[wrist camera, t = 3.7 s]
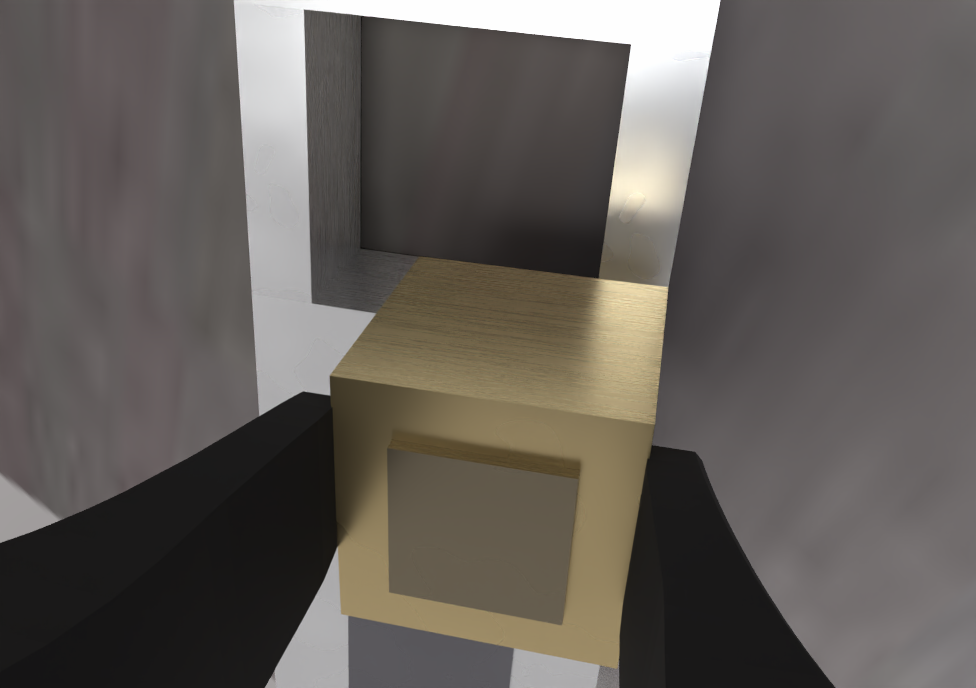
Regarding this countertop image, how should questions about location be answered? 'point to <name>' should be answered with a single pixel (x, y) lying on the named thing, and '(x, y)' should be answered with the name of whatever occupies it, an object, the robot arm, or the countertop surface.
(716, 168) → the countertop surface
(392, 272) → the grey board with holes
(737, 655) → the robot arm
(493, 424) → the block
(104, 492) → the countertop surface
